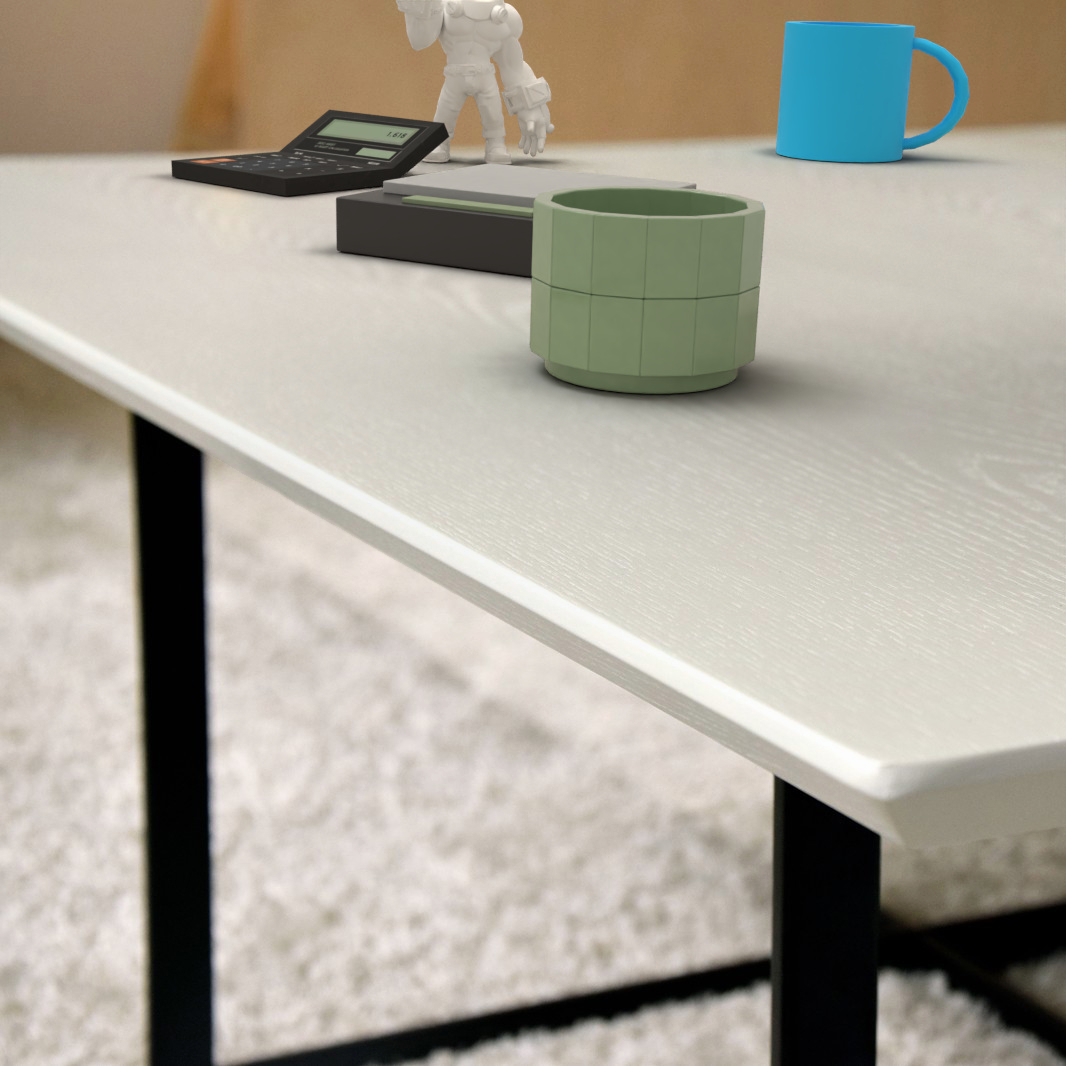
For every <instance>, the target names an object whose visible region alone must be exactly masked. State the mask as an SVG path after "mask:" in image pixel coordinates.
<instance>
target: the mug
mask: <svg viewBox="0 0 1066 1066" xmlns="http://www.w3.org/2000/svg"><path fill="white" fill-rule="evenodd" d="M915 33H916V26H915V25H910V24H909V25H908V24H897V23H879V22H878V23H876V22H853V21H852V22H851V21H814V20H813V21H808V20H807V21H806V20H805V21H803V20H801V21H800V20H799V21H798V20H797V21H796V20H795V21H794V20H793V21H785V23H784V35H783V51H782V62H781V75H780V90H779V103H778V116H777V130H776V143H775V153H776V154H778V155H779V156H784V157H788V158H793V159H802V160H808V161H809V160H810V161H819V162H820V161H821V162H835V163H836V162H837V163H885V162H895V161H900V160H902V158H903V154H904V151H906V150H907V151H908V150H916V149H918V148H921V147H924V146H926V145H930V144H933V143H935V142H937V141H938V140H940V139H941V138H942V137H944V136H945V135H947V134H948V133H950V132H951V131H953V129H955V127H956V126H957V124H958V123H959V122H960V120H961V119H962V118H963V116H964V115H965V112H966V110H967V106H968V103H969V100H970V85H969V78H968V75H967V74H966V72H965V70H964V68H963V66H962V64H961V62H960V60H958V59H957V58H956V57H955V56H954V55H953V54H952V53H951V52H950V51H949V50H947V48H945V47H943V46H941V45H940V44H938V43H935V42H933V41H931V40H929V39H926V38H922V37H915ZM915 50H916V51H920V52H922V53H924V54H926V55H929V56H930V57H932V58H935V59H936V60H937V61H938V62H939V63H940V64H941V65H942V66H943V67H944V68H945V69H946V70H947V72H948V75H949V76H950V78H951V80H952V82H953V90H954V91H953V94H954V97H953V100H952V103H951V106H950V109H949V110H948V112H947V114H946V115H945V116H944V117H943V118H942V120H941V121H940V122H939V123H938V124H936V125H935V126H933V127H931V128H930V129H929V130H927V131H926V132H923V133H920V134H917V135H913V136H911V137H905V134H906V126H907V125H906V123H907V113H908V112H907V111H908V105H909V94H910V93H909V92H910V84H911V73H912V64H913V53H914V51H915Z"/></svg>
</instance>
